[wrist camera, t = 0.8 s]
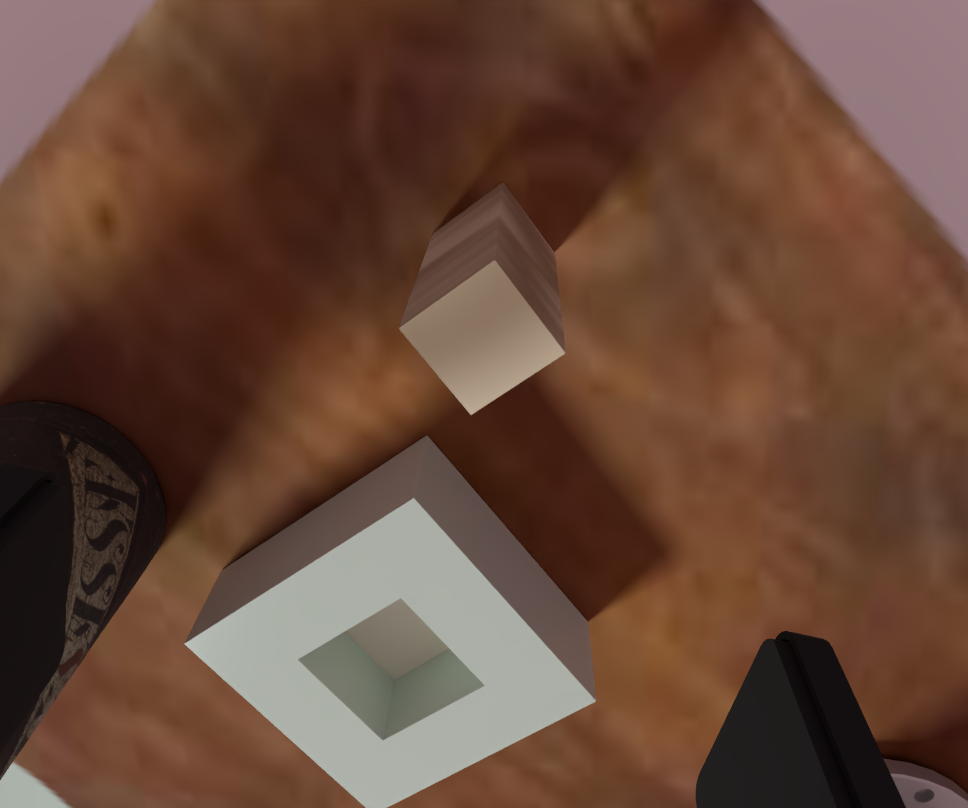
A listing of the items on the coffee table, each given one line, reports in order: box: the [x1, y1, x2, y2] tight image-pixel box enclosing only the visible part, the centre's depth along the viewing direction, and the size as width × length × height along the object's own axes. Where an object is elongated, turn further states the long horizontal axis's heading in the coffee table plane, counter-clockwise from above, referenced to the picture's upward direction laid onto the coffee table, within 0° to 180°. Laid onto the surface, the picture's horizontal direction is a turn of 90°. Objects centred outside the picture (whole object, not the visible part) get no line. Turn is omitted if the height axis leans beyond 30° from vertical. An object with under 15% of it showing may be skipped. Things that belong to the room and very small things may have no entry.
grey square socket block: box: [184, 436, 596, 808], centre depth 35 cm, size 11×11×4 cm
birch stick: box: [399, 182, 566, 415], centre depth 26 cm, size 3×3×9 cm
